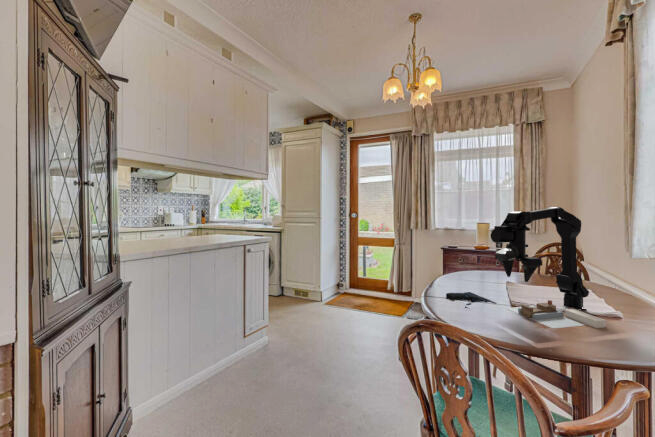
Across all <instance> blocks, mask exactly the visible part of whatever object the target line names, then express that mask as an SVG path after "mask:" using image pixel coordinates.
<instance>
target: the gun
mask: <svg viewBox="0 0 655 437" xmlns="http://www.w3.org/2000/svg"><path fill="white" fill-rule="evenodd" d="M445 297H446V298H447V299H449V300H451V301H452V300H453V301H454V300H466V301H469V303H468V302H467V303H466V304H465V308H466V309H469V310H470V307H469V306H470V305H472V304H473V303H482V302H483V303H486V304H488V303H492V304H494V305H496V304H497V302H495V301H492V300H491V299H488V298H486V297H483V296H480V295H478V294H476V293H473V292H470V291H468V292H467V291H466V292H447V293H446V295H445Z"/></svg>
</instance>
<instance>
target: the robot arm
mask: <svg viewBox="0 0 655 437" xmlns="http://www.w3.org/2000/svg"><path fill="white" fill-rule="evenodd" d="M544 219H550V222H551V223H552V224H554V226H555V229H556V233H557V234H558V235H559V237H560V240H561V249H560V250H561V271H560V272H559V274H558V273H557V274H556V275H555V277H556V280H555V281H556V282H555V283H556V285H557V288H558V290H559V292H560V293H563V306H565V307H567V308H570V309H575V310H578V309H582V307H583V308H584V298H587V297H588V296H589V295H590V291H589V290H588V289H587V287H585V285H584V284H583V278H582V276H581V275H580V274H579V272H578V267H577V266H578V261H577V260H578V258H577V238H578V236H579V234H580V233H581V230H582V221H581V219H580V218H579V217H577V216H576V215H574V214H572V213H570V212H568V211H566V210H565V209H564V208H562V207H560V206H556V207H555V206H550V207H547V208H541V209H536V210H531V211H512V210H511V211H509V212H508V213H507V215H506V216H505V218H504V220H503V222H502V223H501V225H499V226H498V225H494V228H493V229H492V231H491V233H490V239H491V240H492V242H493V243H495V244H499V243H501V244H502V243H506V244H505V246H506V247H504V248H501V249H500V250H497V251H495V254H494V259H496V260H497V262H499V263H501V264H502V266H503V269H504V271H505V274H506V277H508V278H510V277H511V274H512V272H513V267H514V266H513V265H514V261H517V262H519V263H521V264H522V265H520V267H522V269H523V278H524V279H523V280H524V282H525V283H528V282H529V281H530V279H531V277H532V276H533V274H534V273H535V271H536V270H537V268H540V266H541V267H542V266H543V259H541V257H540V258H539V257H535V256H529V254H526V252H527V250H526V248H528V247H529V244H526V238H527V237H526V236H527V234H526V232H530V231H531V228H529V227H528V226H527V225H530V224H532V222H534V221H539V220H544Z"/></svg>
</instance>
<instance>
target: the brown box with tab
mask: <svg viewBox="0 0 655 437" xmlns="http://www.w3.org/2000/svg"><path fill="white" fill-rule="evenodd" d="M530 306H531V305H526V304H521V306H520V307H521V316H522V315H523V317H525V316H526V317H525V318H527V317H528V318H527V319H529V318H532V314H536V313H546V312H556V309H557V305H555V304H553V300H550V299H549V300H547V302H540V303H536V306H537V307H533V308H532V307H530Z"/></svg>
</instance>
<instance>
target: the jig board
mask: <svg viewBox="0 0 655 437" xmlns="http://www.w3.org/2000/svg"><path fill="white" fill-rule="evenodd" d="M529 306H530V307H532V308H533V307H537V305H529ZM505 309H506V310H508V311H511V312H514V313H516V314H518V315H521V306H514V307H506V308H505ZM521 316H523V315H521ZM523 317H525V318H527V319H529V320H532V321H535V322H537V323H538V324H541V325H544V326H546V327H548V328H551V329H553V330H554V329H561V328H563V329H564V328H571V327H572V328H573V327H581V326H585V324H584V323H582V322H579V321H576V320H574V319H571V318H569V317H566V316H565V311H562V310H559V309H557V308H556V312H546V313H536V314H532V318H528V317H526V316H523Z"/></svg>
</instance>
